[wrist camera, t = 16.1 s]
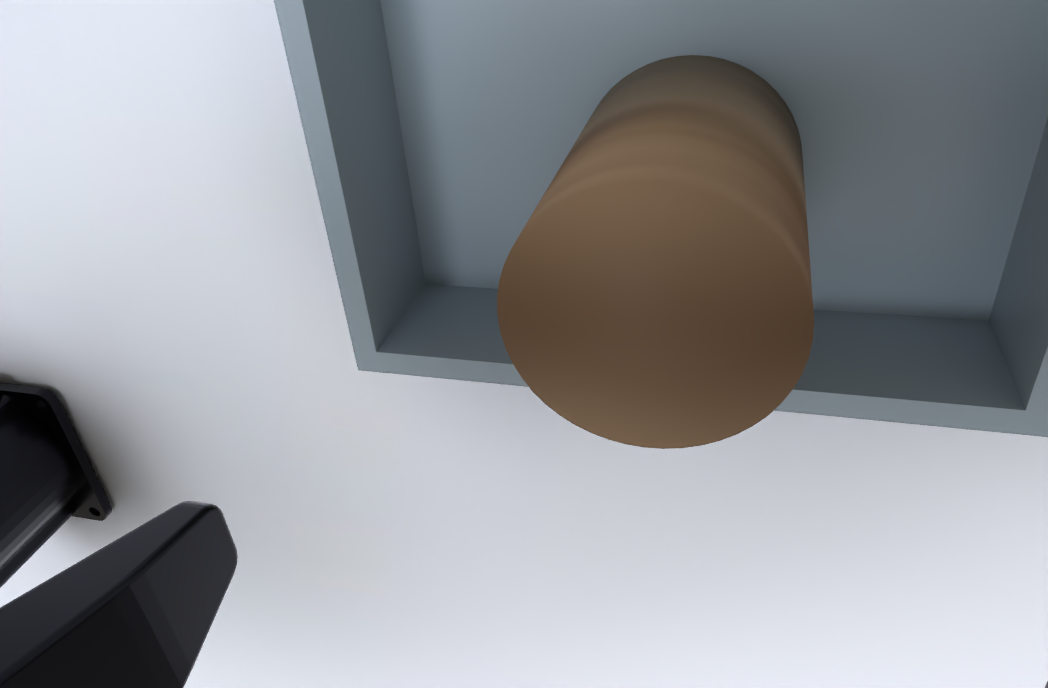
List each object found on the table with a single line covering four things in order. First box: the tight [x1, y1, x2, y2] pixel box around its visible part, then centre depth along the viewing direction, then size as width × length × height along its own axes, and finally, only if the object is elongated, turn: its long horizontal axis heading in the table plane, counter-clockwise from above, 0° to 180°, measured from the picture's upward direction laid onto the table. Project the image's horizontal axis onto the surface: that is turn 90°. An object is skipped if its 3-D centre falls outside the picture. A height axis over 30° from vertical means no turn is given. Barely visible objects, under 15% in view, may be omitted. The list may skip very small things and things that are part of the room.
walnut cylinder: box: [497, 55, 814, 449], centre depth 15 cm, size 5×5×7 cm
